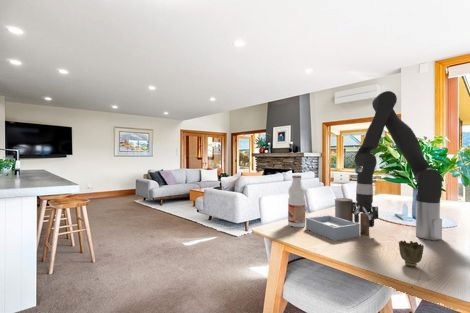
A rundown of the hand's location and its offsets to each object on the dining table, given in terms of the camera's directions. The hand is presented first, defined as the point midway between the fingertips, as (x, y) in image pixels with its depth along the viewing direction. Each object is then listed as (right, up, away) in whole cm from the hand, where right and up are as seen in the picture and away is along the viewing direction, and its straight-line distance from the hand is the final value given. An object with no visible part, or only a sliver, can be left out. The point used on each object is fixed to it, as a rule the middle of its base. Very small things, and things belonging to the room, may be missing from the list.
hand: (363, 224), depth 129 cm
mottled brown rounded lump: (-2, -5, -38) cm, 38 cm away
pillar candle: (-1, -4, +21) cm, 21 cm away
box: (-16, -4, +1) cm, 16 cm away
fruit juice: (-30, -4, +14) cm, 34 cm away
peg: (0, -4, -1) cm, 4 cm away
